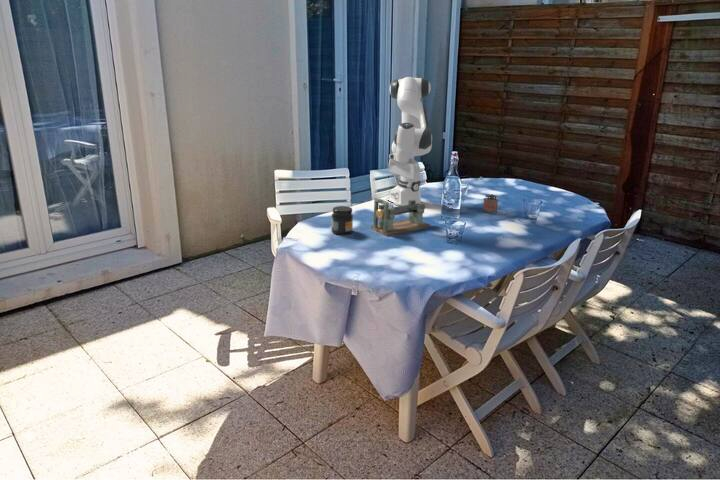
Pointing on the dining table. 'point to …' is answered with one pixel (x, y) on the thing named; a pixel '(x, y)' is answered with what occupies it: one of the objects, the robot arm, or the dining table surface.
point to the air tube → (399, 210)
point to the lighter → (490, 204)
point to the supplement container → (342, 220)
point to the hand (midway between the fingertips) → (403, 185)
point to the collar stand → (397, 227)
